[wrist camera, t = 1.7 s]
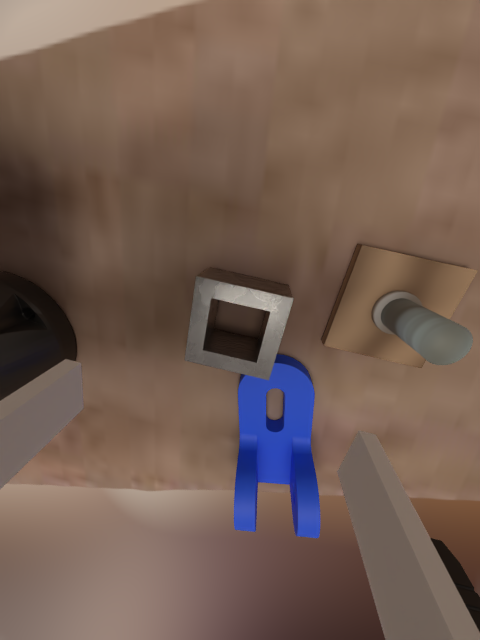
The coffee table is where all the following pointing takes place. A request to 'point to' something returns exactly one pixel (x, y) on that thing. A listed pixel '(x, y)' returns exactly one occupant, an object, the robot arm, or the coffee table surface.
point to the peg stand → (400, 309)
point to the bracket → (277, 446)
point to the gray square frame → (231, 347)
